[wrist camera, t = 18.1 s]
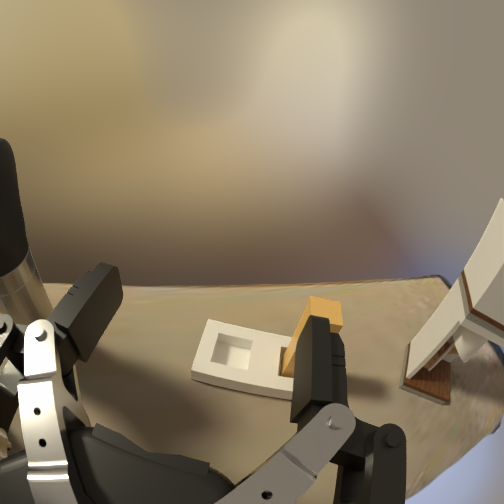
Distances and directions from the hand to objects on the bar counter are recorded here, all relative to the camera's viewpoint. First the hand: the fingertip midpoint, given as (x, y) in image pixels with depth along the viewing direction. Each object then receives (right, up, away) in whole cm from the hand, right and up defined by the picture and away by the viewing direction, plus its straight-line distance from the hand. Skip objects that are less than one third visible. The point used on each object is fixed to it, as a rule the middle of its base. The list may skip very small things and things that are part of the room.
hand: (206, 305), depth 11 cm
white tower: (+36, -22, +31) cm, 53 cm away
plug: (+8, -17, +30) cm, 35 cm away
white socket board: (+3, -16, +30) cm, 35 cm away
